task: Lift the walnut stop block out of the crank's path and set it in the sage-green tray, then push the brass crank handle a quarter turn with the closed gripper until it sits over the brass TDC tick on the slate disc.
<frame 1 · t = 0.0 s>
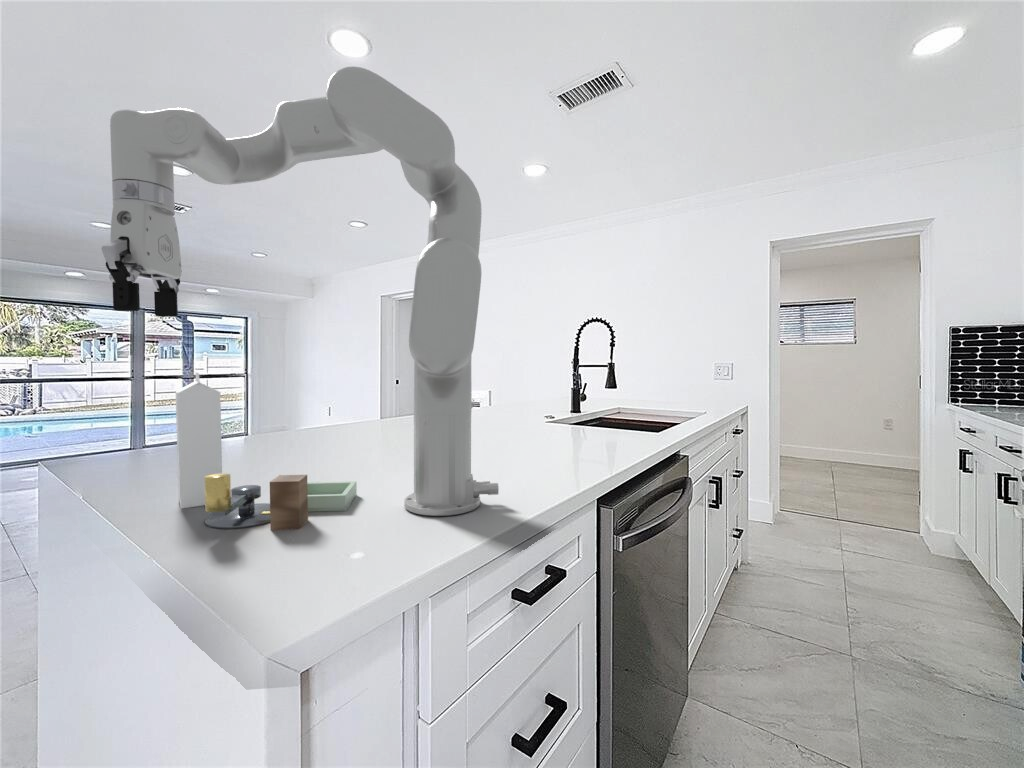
hand: (147, 313, 75), 31 cm above the worktop, fingers open, 9 cm apart
crank base: (246, 516, 75), on the worktop
crank: (233, 486, 71), point 6 cm above the worktop, hinge at 0.0°
stop block: (289, 524, 72), on the worktop
tray: (323, 503, 83), on the worktop
milk: (200, 502, 83), on the worktop
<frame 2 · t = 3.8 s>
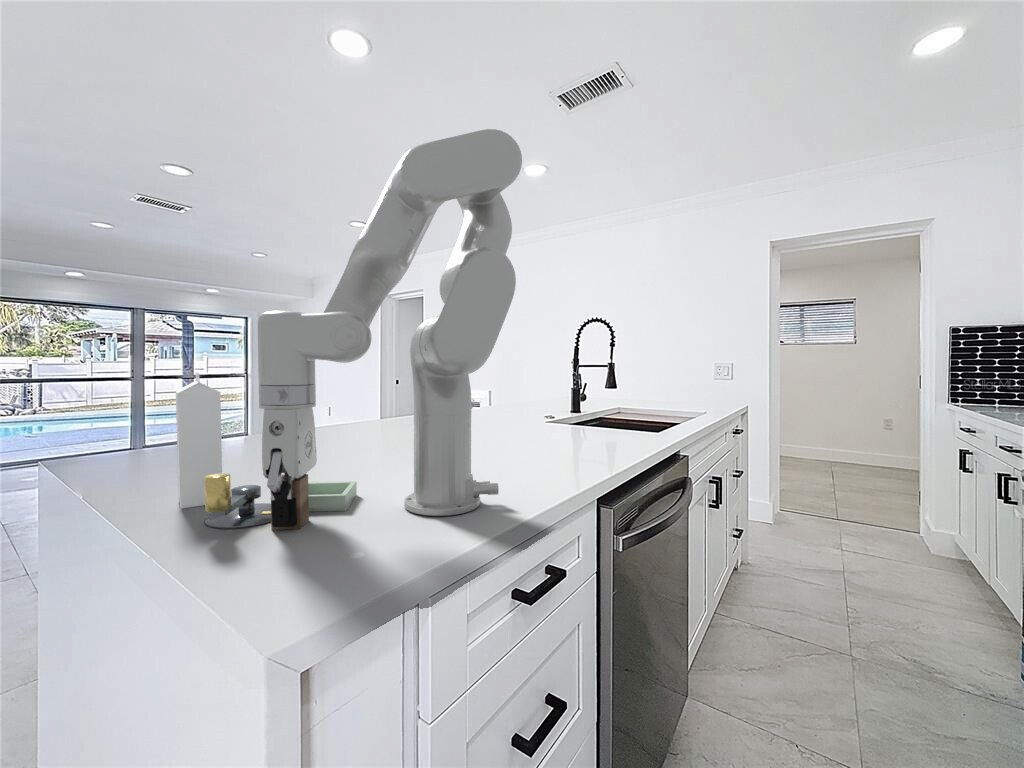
hand: (290, 519, 72), 1 cm above the worktop, fingers closed on stop block, 4 cm apart
stop block: (290, 524, 72), on the worktop, touching gripper
everything else where it was.
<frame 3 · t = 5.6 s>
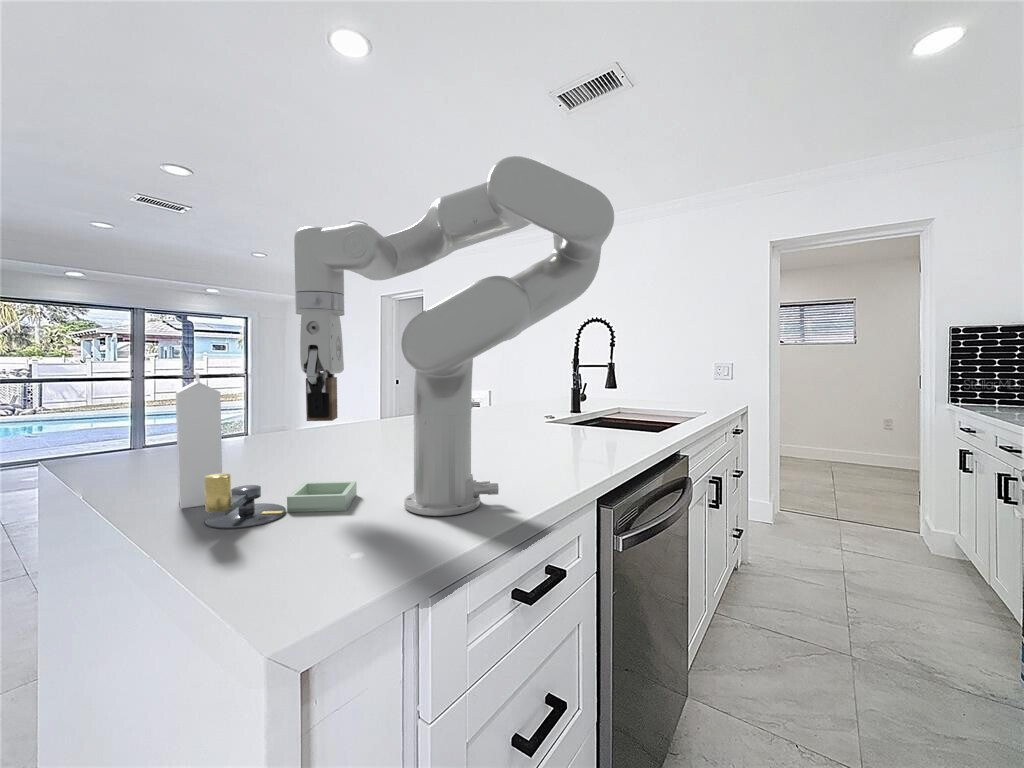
hand: (322, 414, 81), 15 cm above the worktop, fingers closed on stop block, 4 cm apart
stop block: (322, 419, 81), point 14 cm above the worktop, touching gripper
everything else where it was.
when the fingers open (3 cm above the worktop, at t = 7.8 s): stop block drops 1 cm, resting on tray.
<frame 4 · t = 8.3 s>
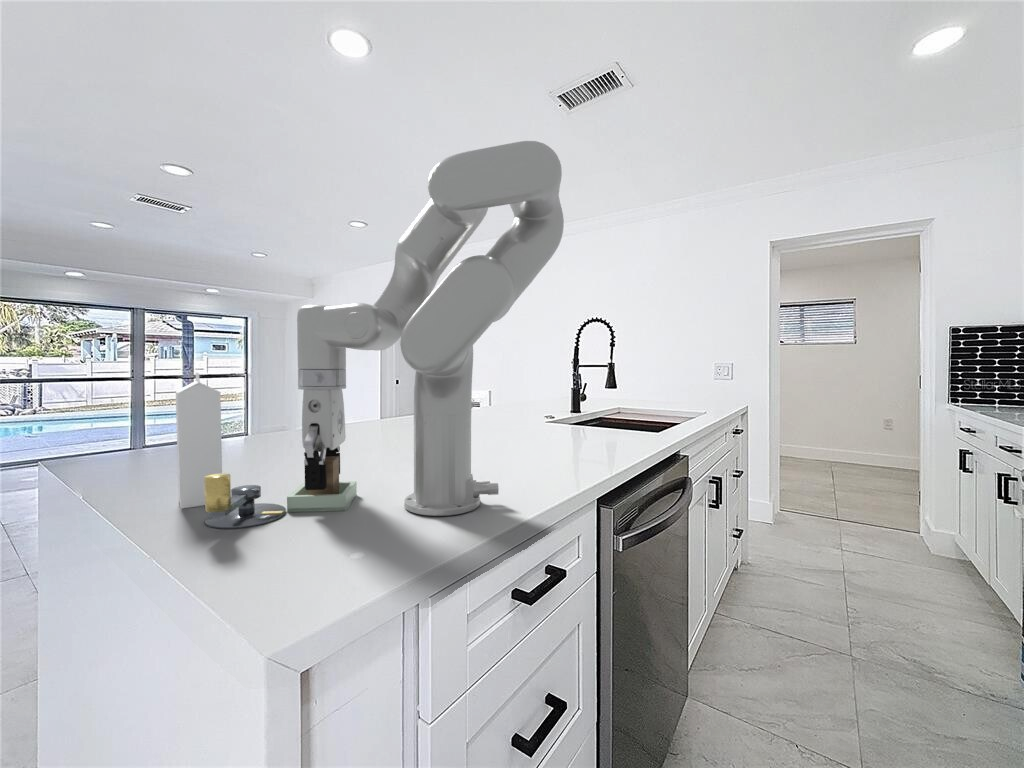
hand: (323, 481, 82), 4 cm above the worktop, fingers open, 9 cm apart
stop block: (324, 499, 83), point 1 cm above the worktop, touching tray
everything else where it was.
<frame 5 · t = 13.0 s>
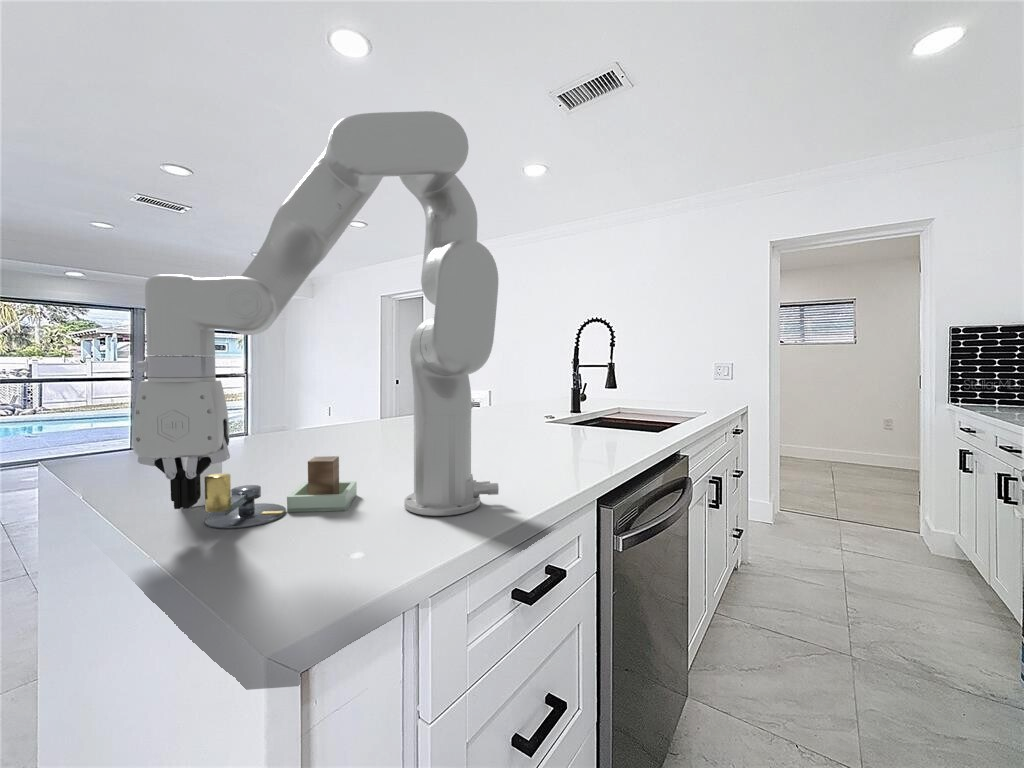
hand: (186, 505, 66), 5 cm above the worktop, fingers closed
crank: (233, 486, 71), point 6 cm above the worktop, hinge at 0.0°, touching gripper
everything else where it was.
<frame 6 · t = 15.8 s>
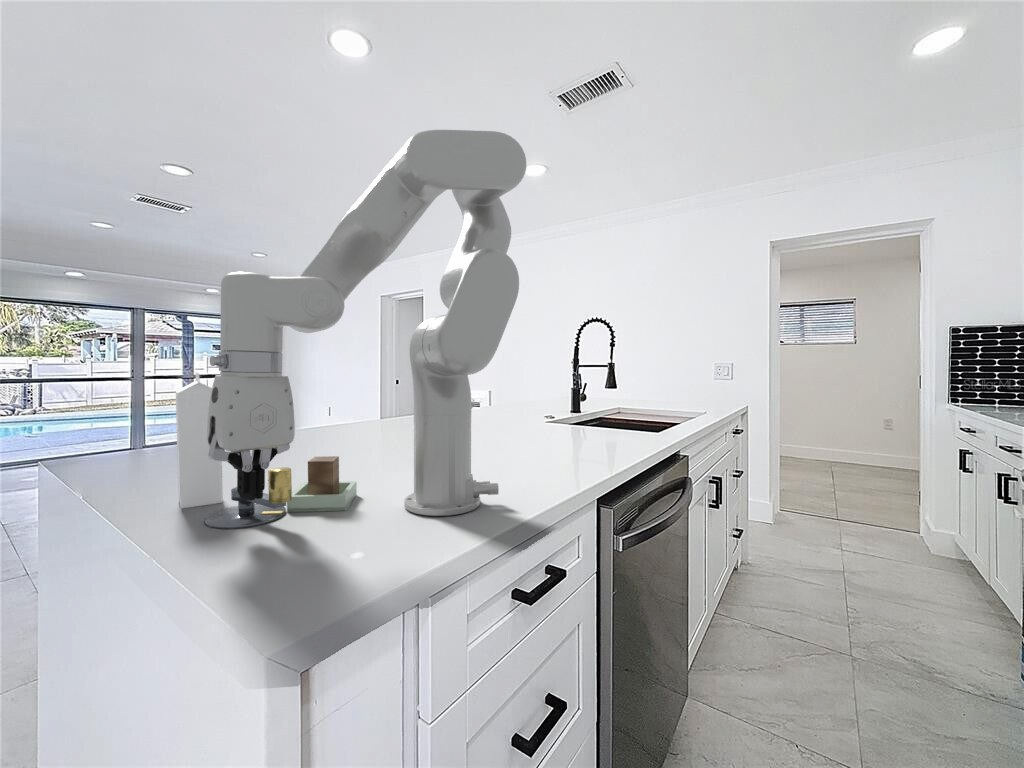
hand: (251, 497, 67), 5 cm above the worktop, fingers closed
crank: (261, 483, 73), point 6 cm above the worktop, hinge at 50.6°, touching gripper
everything else where it was.
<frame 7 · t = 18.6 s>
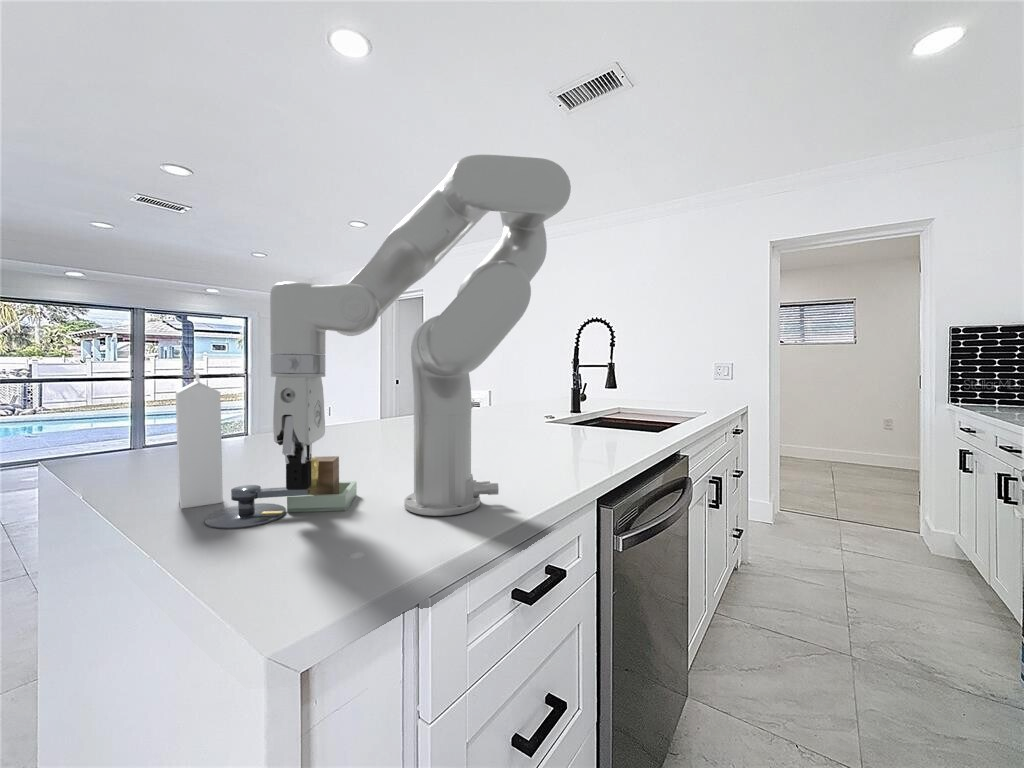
hand: (298, 488, 74), 5 cm above the worktop, fingers closed
crank: (276, 478, 76), point 6 cm above the worktop, hinge at 98.5°, touching gripper
everything else where it was.
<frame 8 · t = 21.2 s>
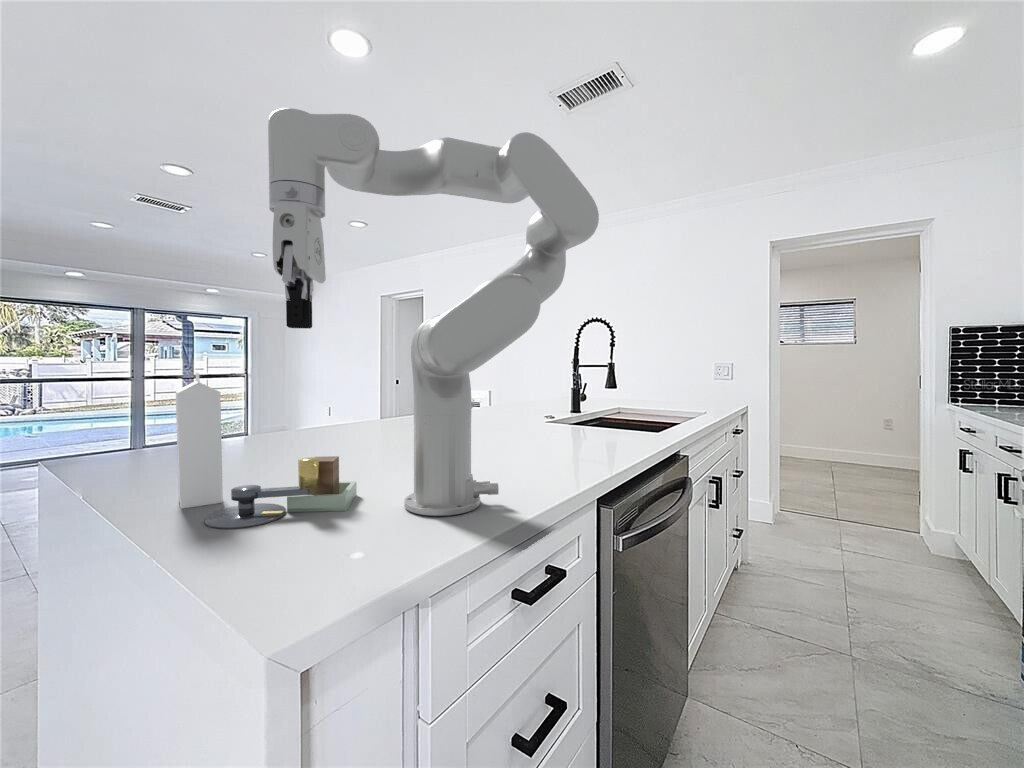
hand: (299, 327, 73), 29 cm above the worktop, fingers closed
crank: (276, 478, 76), point 6 cm above the worktop, hinge at 99.3°
everything else where it was.
at the end: stop block 0.1 cm off-centre on the tray, point 0.6 cm above the tray's base; crank at +99° (first picture: +0°) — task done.
